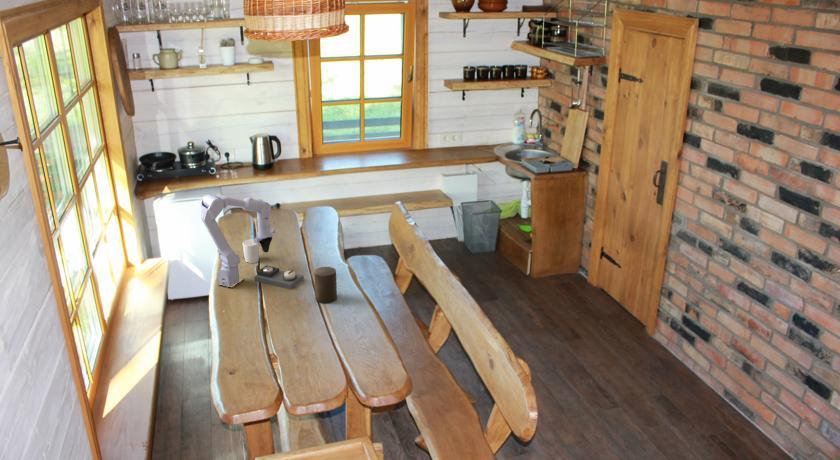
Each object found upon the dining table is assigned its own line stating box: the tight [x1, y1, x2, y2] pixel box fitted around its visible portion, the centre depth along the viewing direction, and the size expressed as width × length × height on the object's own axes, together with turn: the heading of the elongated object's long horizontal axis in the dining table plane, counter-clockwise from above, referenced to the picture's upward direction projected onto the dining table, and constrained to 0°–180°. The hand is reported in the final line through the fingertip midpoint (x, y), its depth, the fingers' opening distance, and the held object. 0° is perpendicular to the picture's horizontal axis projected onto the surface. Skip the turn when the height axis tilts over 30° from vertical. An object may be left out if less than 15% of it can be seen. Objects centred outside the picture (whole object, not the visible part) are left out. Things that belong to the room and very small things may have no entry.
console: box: [254, 264, 305, 290], centre depth 332 cm, size 11×20×4 cm, turn 66°
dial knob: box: [284, 269, 296, 279], centre depth 329 cm, size 5×5×2 cm
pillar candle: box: [314, 266, 338, 304], centre depth 315 cm, size 10×10×15 cm
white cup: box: [242, 238, 260, 264], centre depth 352 cm, size 8×8×10 cm
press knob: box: [263, 266, 273, 273], centre depth 334 cm, size 4×4×2 cm
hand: (265, 251), depth 338 cm, fingers closed
